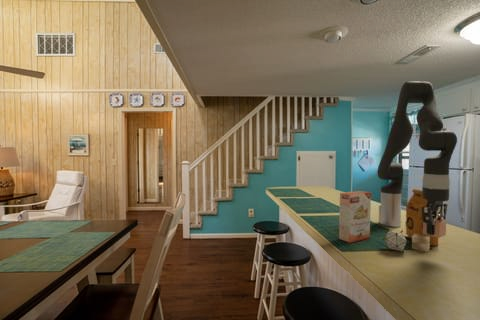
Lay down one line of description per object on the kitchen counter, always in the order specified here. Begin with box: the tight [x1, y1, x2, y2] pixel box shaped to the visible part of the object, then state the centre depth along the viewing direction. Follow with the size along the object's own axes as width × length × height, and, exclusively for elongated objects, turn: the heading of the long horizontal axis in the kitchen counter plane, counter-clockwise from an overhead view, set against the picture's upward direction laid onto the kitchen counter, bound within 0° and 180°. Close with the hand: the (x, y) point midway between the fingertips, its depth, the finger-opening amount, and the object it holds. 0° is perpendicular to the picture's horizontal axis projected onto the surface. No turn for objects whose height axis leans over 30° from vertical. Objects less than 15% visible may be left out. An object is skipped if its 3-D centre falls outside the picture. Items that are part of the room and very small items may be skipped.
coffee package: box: [404, 188, 439, 247], centre depth 104 cm, size 10×12×22 cm
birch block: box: [411, 234, 431, 253], centre depth 95 cm, size 5×5×5 cm
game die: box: [382, 228, 410, 254], centre depth 93 cm, size 9×8×10 cm
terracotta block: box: [423, 219, 447, 239], centre depth 86 cm, size 5×5×5 cm
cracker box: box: [338, 190, 372, 244], centre depth 106 cm, size 14×6×21 cm, turn 118°
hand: (434, 232), depth 87 cm, fingers closed on terracotta block, 5 cm apart
